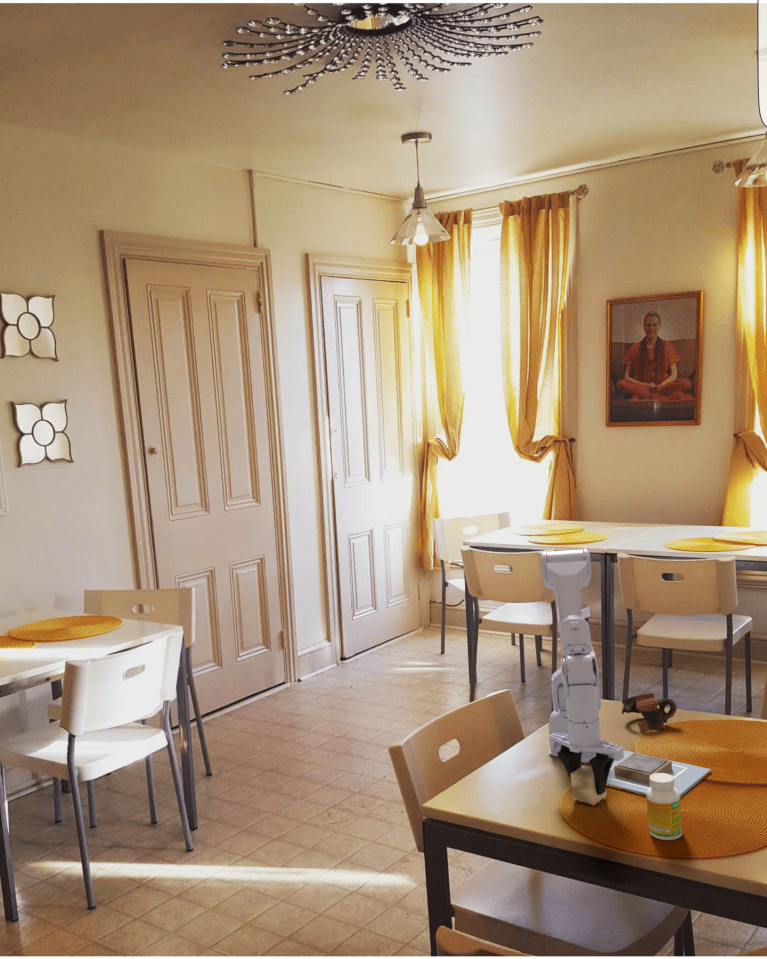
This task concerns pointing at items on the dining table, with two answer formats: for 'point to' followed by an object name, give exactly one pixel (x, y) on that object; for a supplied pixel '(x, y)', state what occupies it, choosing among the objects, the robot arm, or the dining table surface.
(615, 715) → the dining table surface
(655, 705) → the pottery mug
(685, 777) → the board
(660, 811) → the supplement bottle
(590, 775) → the oak block
